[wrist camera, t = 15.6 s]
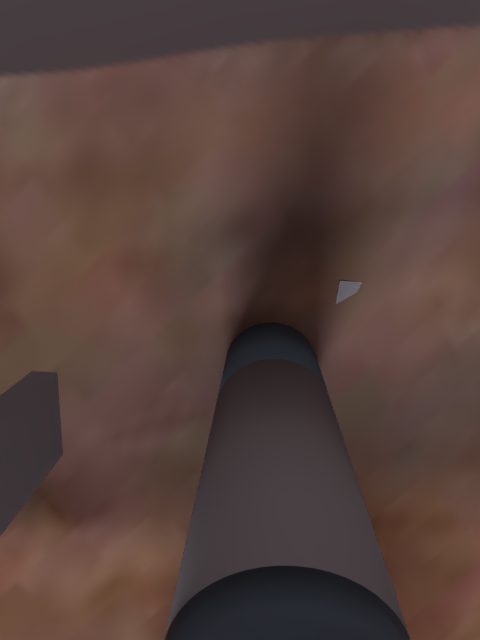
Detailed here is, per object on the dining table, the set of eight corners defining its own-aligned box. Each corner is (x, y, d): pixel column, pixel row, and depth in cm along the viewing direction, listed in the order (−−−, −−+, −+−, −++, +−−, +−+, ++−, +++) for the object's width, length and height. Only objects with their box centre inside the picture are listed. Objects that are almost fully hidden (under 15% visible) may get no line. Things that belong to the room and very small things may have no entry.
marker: (224, 405, 19) (150, 815, 6) (227, 320, 18) (146, 608, 5) (312, 410, 19) (414, 838, 6) (320, 325, 18) (458, 630, 5)
